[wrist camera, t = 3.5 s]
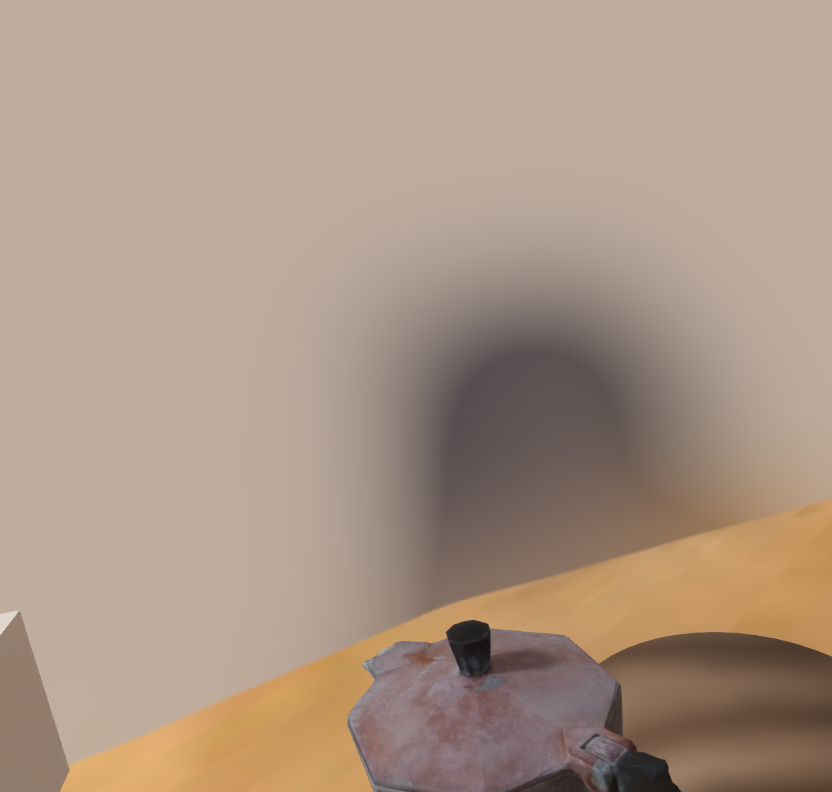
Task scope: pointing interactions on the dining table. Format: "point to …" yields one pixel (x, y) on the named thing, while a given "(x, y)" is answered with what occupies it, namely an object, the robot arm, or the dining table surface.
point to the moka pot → (497, 718)
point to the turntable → (730, 711)
